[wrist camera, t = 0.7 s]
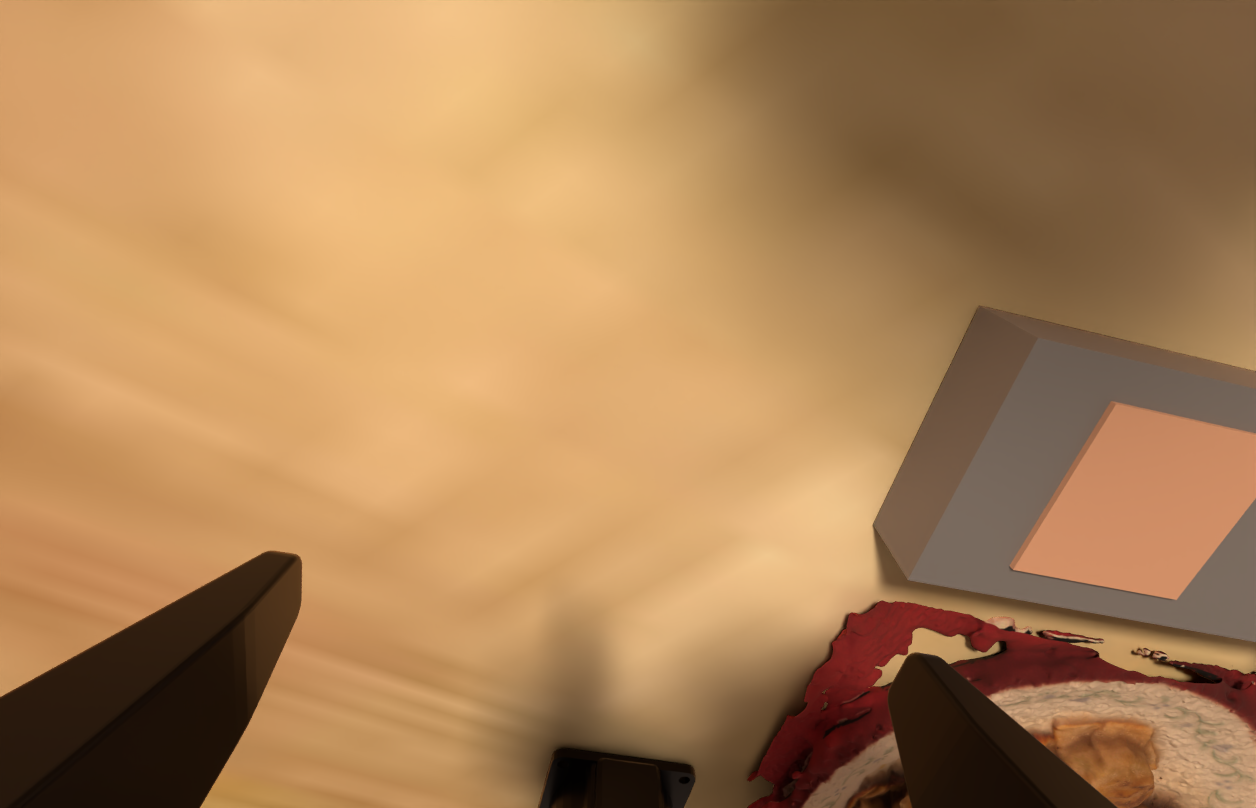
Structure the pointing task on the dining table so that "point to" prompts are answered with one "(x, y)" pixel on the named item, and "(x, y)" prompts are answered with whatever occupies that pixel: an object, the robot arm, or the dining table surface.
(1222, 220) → the dining table surface
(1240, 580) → the parts holder
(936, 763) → the robot arm
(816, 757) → the plate with food
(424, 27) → the dining table surface
